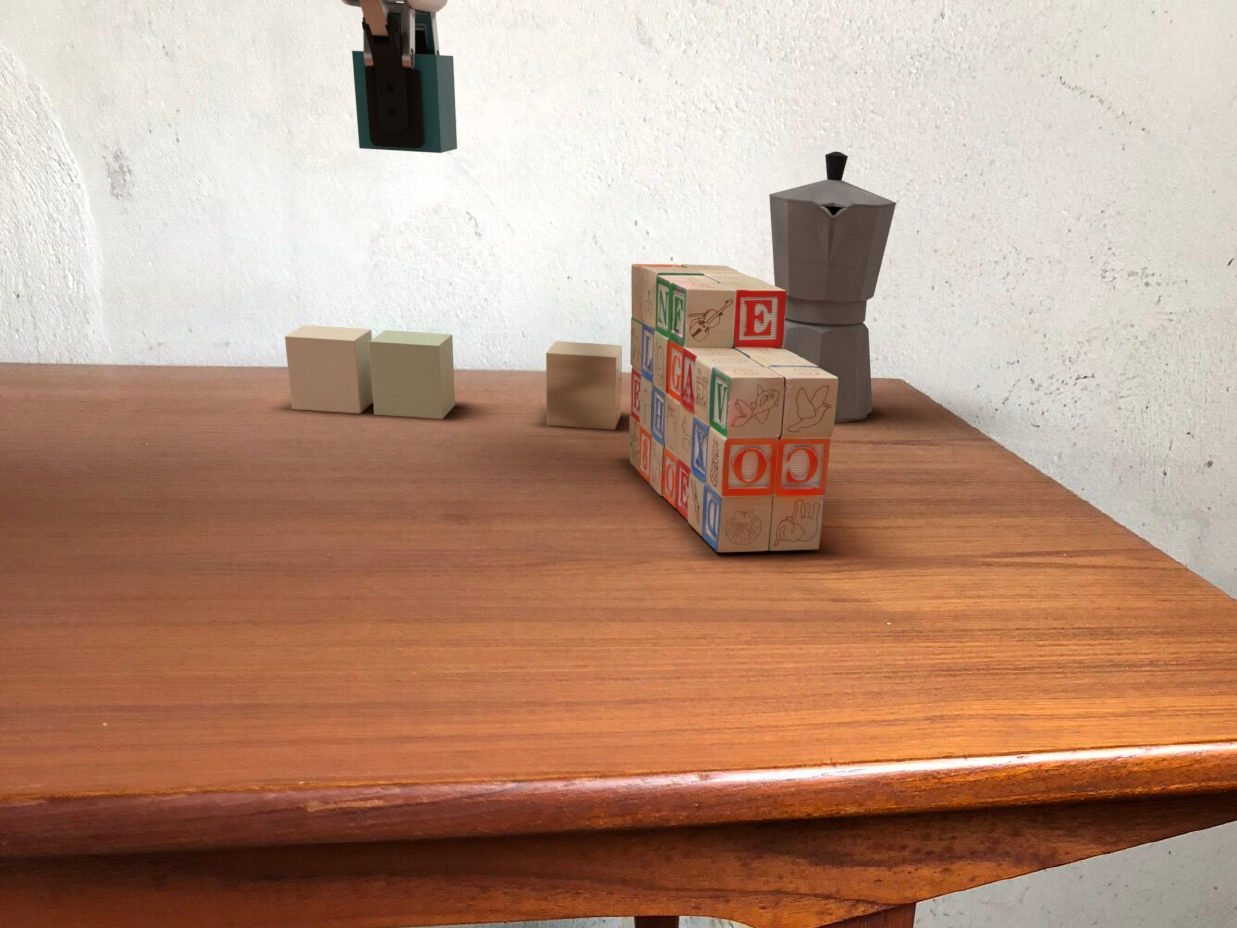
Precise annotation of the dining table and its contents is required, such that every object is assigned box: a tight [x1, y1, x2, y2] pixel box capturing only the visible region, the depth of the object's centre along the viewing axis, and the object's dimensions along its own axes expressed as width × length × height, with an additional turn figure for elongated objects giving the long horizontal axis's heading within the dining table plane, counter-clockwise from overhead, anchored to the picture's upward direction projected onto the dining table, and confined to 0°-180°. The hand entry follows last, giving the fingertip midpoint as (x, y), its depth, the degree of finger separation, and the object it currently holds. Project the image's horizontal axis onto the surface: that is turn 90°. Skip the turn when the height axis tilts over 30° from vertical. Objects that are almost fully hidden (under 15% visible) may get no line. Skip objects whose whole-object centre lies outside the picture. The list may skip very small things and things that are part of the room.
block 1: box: [284, 324, 373, 415], centre depth 102 cm, size 5×5×5 cm
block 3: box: [545, 340, 623, 431], centre depth 102 cm, size 5×5×5 cm
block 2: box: [369, 329, 456, 420], centre depth 102 cm, size 5×5×5 cm
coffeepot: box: [768, 151, 897, 424], centre depth 107 cm, size 15×9×18 cm, turn 177°
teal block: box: [351, 50, 458, 154], centre depth 85 cm, size 5×5×5 cm
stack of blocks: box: [629, 263, 838, 553], centre depth 82 cm, size 21×6×12 cm, turn 16°
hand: (408, 141), depth 86 cm, fingers closed on teal block, 5 cm apart
